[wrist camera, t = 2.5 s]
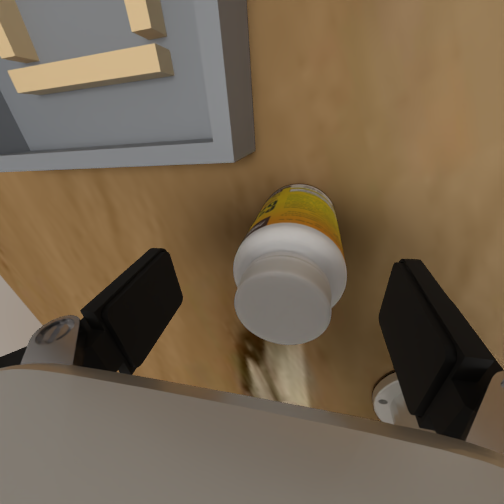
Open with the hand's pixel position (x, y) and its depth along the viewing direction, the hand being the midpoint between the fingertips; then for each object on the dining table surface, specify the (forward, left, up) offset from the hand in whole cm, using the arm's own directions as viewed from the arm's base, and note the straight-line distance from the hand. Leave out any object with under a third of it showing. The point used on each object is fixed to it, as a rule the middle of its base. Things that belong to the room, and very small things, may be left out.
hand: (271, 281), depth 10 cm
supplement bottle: (-1, +1, -9) cm, 9 cm away
